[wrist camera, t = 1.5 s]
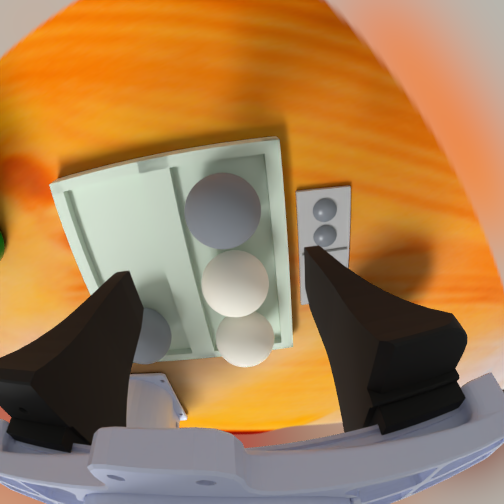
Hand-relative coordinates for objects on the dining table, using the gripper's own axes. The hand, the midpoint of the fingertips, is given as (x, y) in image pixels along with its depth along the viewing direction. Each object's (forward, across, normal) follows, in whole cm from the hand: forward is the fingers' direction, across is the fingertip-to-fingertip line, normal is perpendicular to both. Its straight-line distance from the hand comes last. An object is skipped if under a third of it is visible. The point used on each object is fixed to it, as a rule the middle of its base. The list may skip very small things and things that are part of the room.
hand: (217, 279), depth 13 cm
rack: (+10, +4, +6) cm, 12 cm away
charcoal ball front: (+10, 0, 0) cm, 10 cm away
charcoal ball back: (+9, +8, +10) cm, 16 cm away
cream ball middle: (+9, 0, +6) cm, 11 cm away
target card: (+10, -7, +6) cm, 14 cm away
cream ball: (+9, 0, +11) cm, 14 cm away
